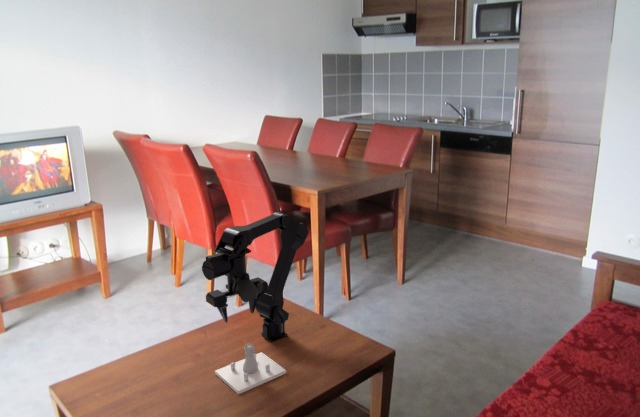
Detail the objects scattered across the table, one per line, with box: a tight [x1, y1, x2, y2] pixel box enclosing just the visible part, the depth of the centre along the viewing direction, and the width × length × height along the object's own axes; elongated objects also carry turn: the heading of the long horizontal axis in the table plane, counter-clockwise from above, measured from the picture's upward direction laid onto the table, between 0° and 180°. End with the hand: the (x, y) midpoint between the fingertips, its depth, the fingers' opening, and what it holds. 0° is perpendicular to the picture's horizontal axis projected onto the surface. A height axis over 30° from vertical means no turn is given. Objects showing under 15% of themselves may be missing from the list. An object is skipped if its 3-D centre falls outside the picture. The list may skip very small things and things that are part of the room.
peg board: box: [214, 352, 287, 395], centre depth 157 cm, size 16×13×3 cm
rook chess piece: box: [243, 342, 258, 374], centre depth 156 cm, size 4×4×8 cm
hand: (239, 317), depth 165 cm, fingers open, 9 cm apart
